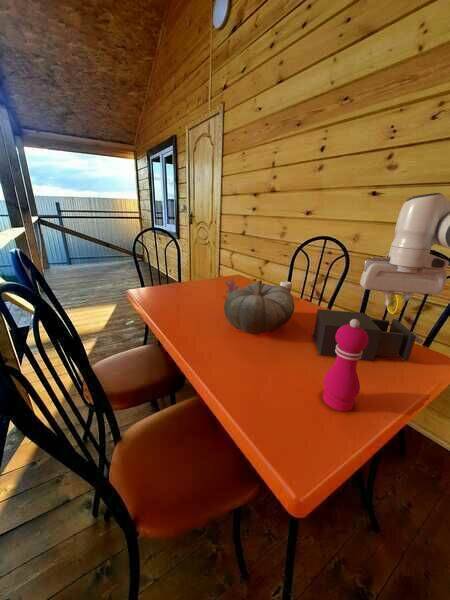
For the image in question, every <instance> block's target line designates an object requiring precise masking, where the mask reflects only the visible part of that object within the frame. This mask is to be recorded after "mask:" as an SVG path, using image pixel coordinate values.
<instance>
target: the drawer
mask: <svg viewBox="0 0 450 600" xmlns="http://www.w3.org/2000/svg"><path fill="white" fill-rule="evenodd" d="M370 319H371V320H372V321H373V322H374V323H375V324H376V325H377V326H378V327H379V328H380V329H381V330H382V331H381V334H380V338H379V342H378V346H377V350H376V354H375V356H381V357H391V358H398V357H400V358H401V360H402V361H405V362H409V360H410V357H411V354H412V351H413V347H414V345H415V342H416V343H418V344H419V345H421V344H423V343H424V340H423V338H422V337H420V336H419V335H418V334H416V333H415V332H414V331H411V330H410V329H408V328H407V327H406V326H405V325H404V324H403V323H402V322H400V321H399V320H398V319H396V318H392V320H391V321H390V320H387V319H378V318H370ZM390 323H391V324H390ZM389 325H390V326H389ZM388 329H389V331H388Z"/></svg>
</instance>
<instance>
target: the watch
mask: <svg viewBox="0 0 450 600" xmlns="http://www.w3.org/2000/svg"><path fill="white" fill-rule="evenodd" d="M403 296H404V294H403V293H402V292H394V291H393V293H392V295H390V298H391V299H392V300H394V299H396V301H397V306H396V305H395V309H394V308H393V306H386V309H387V311H388V313H390V314H391V315H399V314H400V313H401V311H402V310H403V307H402V305H403V300H402V297H403Z"/></svg>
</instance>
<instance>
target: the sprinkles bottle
mask: <svg viewBox="0 0 450 600" xmlns="http://www.w3.org/2000/svg"><path fill="white" fill-rule="evenodd" d="M279 286H284V287H286V288H287V289H288V290H289V292H290V293H291V292H292V288H293V283H292V282H291V281H286V280H285V281H284V280H283V281H280V282H279ZM291 294H292V293H291Z"/></svg>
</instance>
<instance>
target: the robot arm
mask: <svg viewBox="0 0 450 600" xmlns="http://www.w3.org/2000/svg"><path fill="white" fill-rule="evenodd" d="M435 245H437V246H440V247H443V248H446V249H448V250H450V199H448V198H447V197H446V196H445V195H444V194H443V193H441V192H433V193H432V192H431V193H426V194H425V193H424V194H419V195H413V196H411V197H409V198H407V199H405V201H404V203H403V204H402V206H401V209H400V211H399V213H398V217H397V219H396V223H395V228H394V238H393V240H392V242H391V244H390V247H389V252H388V256H376V255H375V256H374V255H373V256H371V257H369V258H368V257H367V259H366V260H365V261H364V263H363V264H364V265H363V271H362V273H361V276H360V280H359V285H360V286H361V288H363V289H364V290H370V291H383V296H384V297H385V303H384V304H385V306H386V307H387V306H392V307H394V304H395V307H396V306H397V300H396V303H395V300H394V299H393V300H392V299H391V298H390V295H392V293H393V292H396V293H402V294H403V296H402V300H403V305H402V308H404V307H405V305H406V302H407V301H409V300H410V299H411V298H412V296H413V294H420V295H421V294H423V295H435V296H439V295H440V294H441V293H442V292H443V291H444V289H445V286H446V282H447V279H448V278H447V277H448V273H447V270H446V269H448V268H449V265H450V261H449V260H447V259H445V258H442V257H439V256H437V255H435V254H432V253H431V250H432V247H433V246H435Z"/></svg>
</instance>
